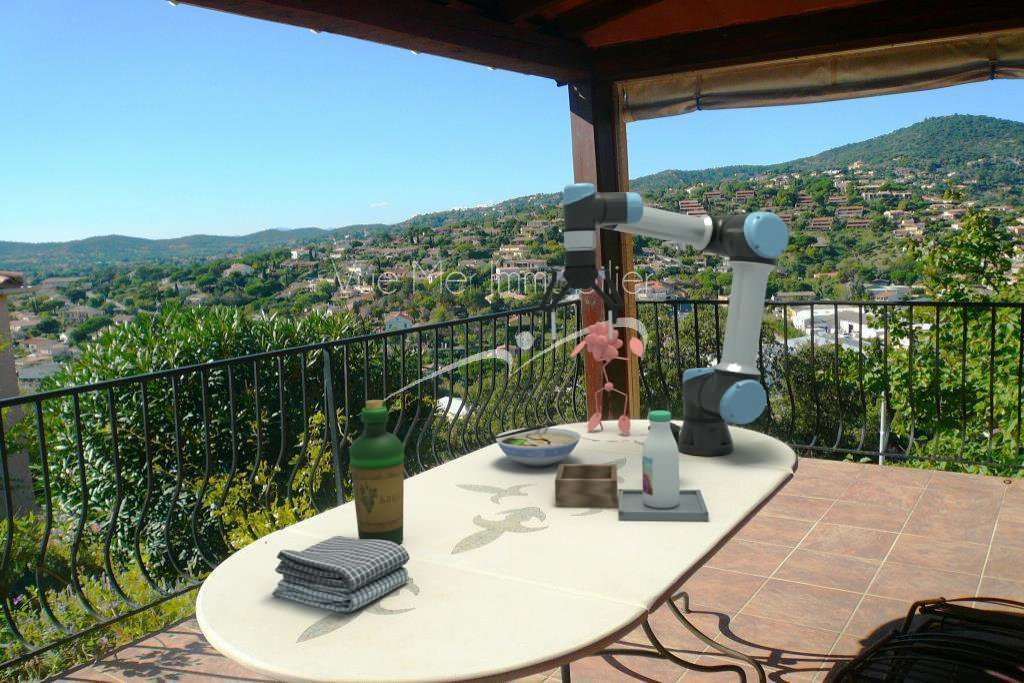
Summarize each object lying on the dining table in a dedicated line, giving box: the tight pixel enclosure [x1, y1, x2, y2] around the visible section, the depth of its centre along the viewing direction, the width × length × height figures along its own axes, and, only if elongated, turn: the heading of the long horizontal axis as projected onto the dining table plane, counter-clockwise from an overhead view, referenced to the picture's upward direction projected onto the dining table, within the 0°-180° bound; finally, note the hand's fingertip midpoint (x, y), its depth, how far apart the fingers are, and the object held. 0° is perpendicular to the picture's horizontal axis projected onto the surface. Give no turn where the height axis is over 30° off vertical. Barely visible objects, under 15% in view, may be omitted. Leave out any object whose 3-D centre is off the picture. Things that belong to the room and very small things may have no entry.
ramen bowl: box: [485, 421, 581, 468], centre depth 208 cm, size 25×23×8 cm
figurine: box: [570, 321, 645, 443], centre depth 236 cm, size 15×26×35 cm, turn 53°
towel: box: [271, 535, 411, 614], centre depth 131 cm, size 15×18×8 cm
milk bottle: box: [641, 410, 680, 508], centre depth 167 cm, size 8×8×20 cm
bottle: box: [348, 399, 405, 545], centre depth 151 cm, size 11×11×28 cm
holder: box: [554, 463, 618, 509], centre depth 176 cm, size 13×13×6 cm
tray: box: [618, 488, 709, 522], centre depth 168 cm, size 18×16×2 cm
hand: (582, 338), depth 188 cm, fingers open, 13 cm apart
